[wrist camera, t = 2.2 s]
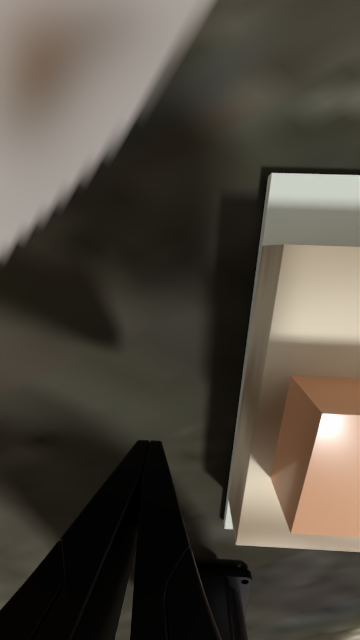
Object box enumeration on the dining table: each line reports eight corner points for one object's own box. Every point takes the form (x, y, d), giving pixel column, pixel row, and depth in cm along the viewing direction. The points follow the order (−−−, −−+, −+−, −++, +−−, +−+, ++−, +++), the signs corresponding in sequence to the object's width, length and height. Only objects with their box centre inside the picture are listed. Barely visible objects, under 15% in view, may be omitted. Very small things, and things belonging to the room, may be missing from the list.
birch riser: (380, 500, 13) (422, 555, 11) (227, 492, 13) (235, 544, 11) (483, 253, 9) (587, 254, 7) (259, 245, 9) (284, 244, 7)
